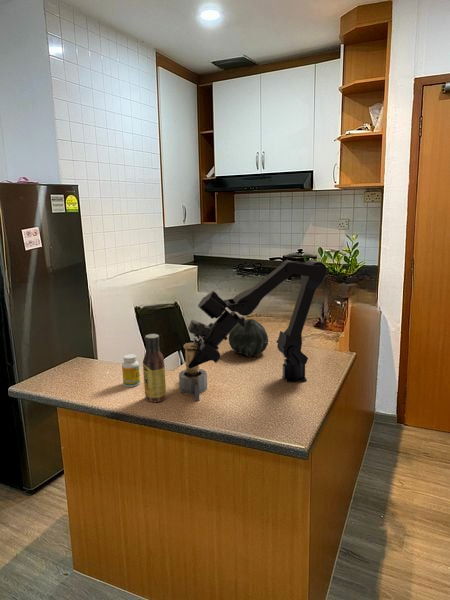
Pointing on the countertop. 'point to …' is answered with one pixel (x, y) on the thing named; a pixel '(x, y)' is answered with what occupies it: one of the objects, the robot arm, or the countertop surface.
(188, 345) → the pin
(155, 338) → the sauce bottle
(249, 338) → the squash
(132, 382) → the supplement bottle
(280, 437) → the countertop surface
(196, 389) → the grey ring with arms
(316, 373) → the countertop surface
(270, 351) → the countertop surface
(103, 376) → the countertop surface
